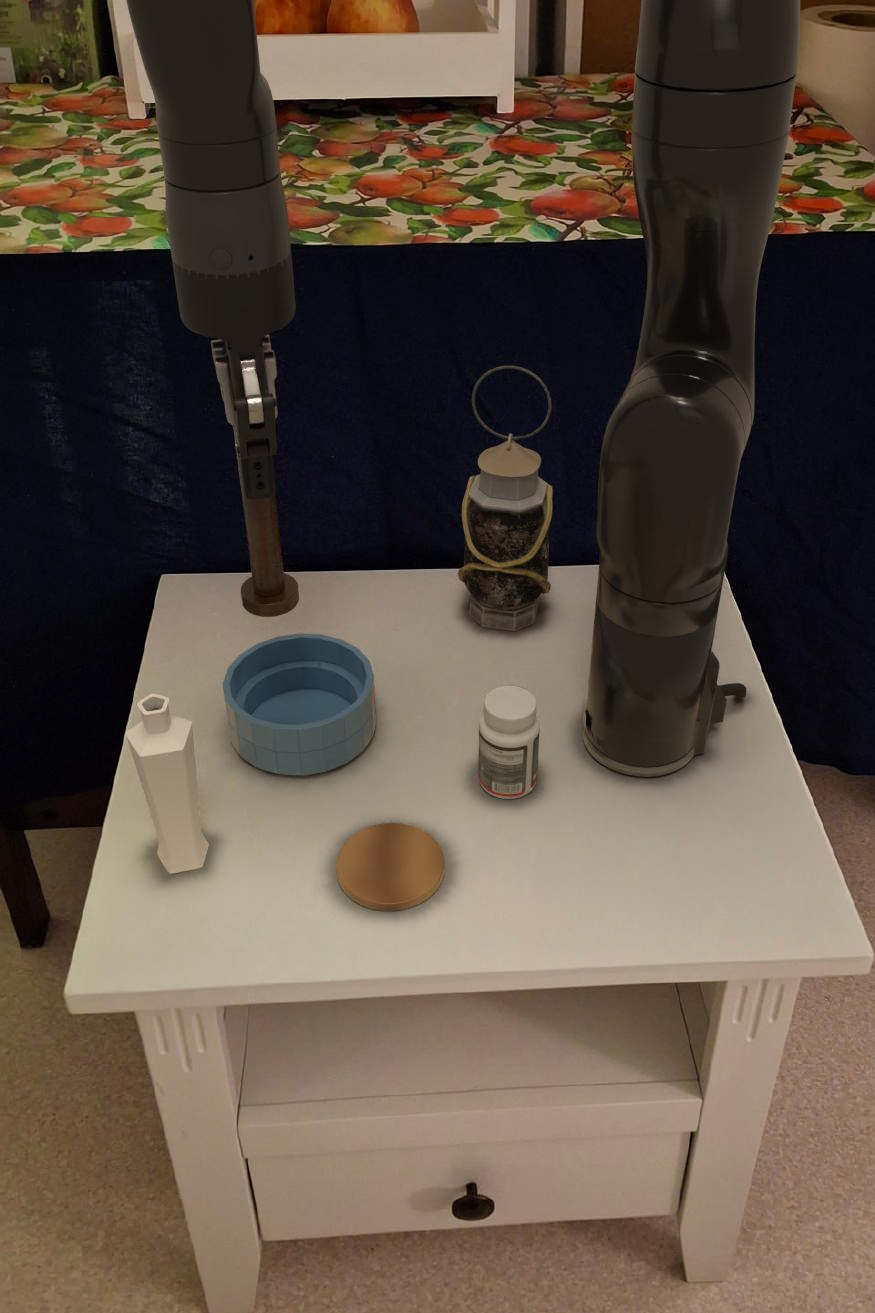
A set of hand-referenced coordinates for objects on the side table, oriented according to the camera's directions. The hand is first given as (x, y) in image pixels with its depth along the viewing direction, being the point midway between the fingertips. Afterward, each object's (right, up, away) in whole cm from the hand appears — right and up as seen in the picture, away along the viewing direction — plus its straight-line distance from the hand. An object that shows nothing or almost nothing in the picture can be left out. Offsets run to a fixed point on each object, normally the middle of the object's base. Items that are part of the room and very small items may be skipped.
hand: (258, 484), depth 88 cm
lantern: (+19, -8, +28) cm, 35 cm away
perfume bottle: (-6, -28, +4) cm, 29 cm away
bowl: (+2, -19, +15) cm, 24 cm away
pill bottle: (+18, -22, +10) cm, 31 cm away
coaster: (+9, -28, +3) cm, 30 cm away
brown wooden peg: (0, -8, +6) cm, 10 cm away
